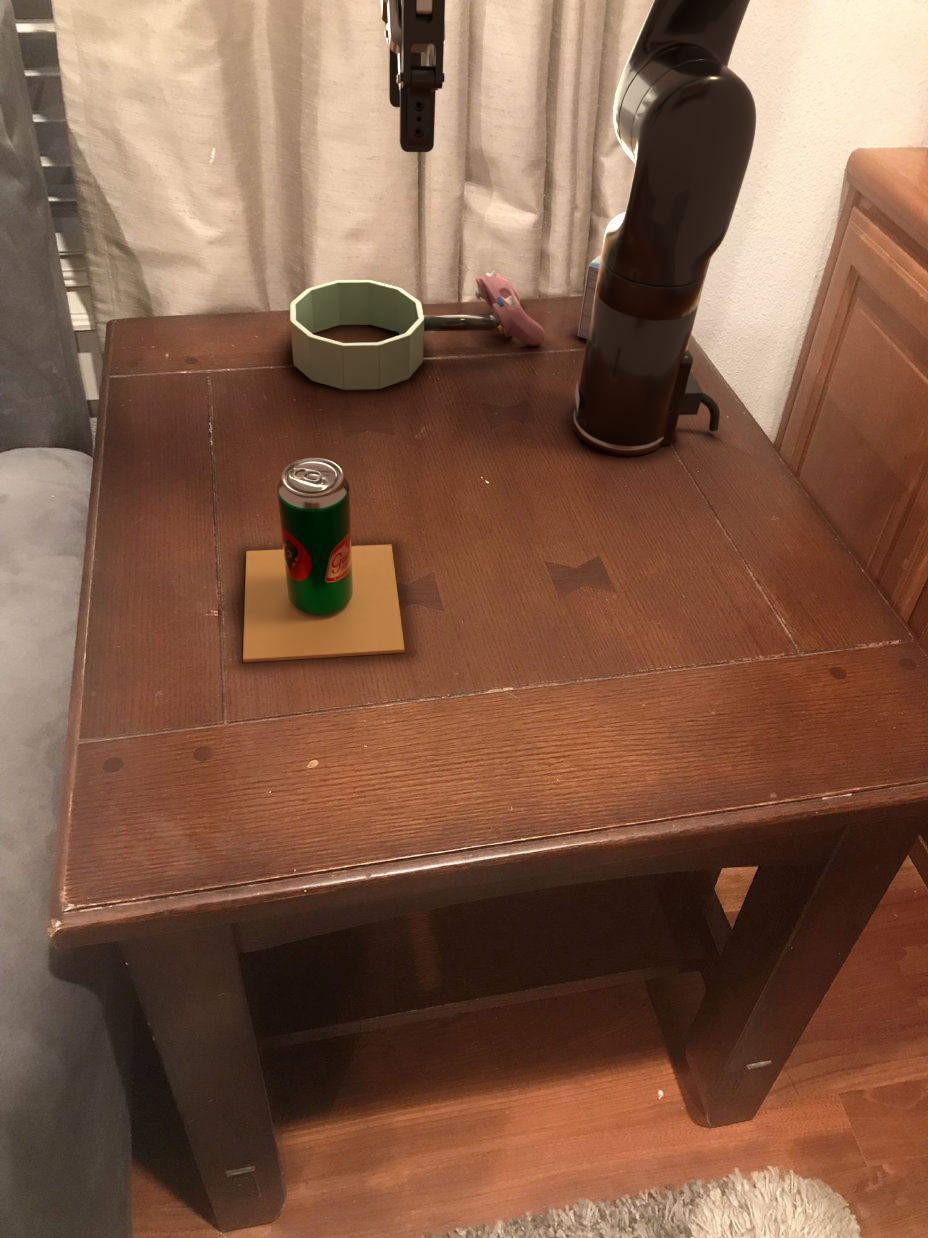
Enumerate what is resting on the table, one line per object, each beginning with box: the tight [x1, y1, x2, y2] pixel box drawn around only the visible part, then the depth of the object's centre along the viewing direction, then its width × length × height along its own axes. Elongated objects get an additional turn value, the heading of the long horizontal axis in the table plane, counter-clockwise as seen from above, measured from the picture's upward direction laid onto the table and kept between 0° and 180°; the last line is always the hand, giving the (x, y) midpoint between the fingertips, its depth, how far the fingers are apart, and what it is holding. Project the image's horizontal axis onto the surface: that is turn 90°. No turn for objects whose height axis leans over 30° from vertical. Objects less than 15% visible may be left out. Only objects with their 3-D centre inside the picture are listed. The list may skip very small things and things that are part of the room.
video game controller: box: [474, 269, 546, 347], centre depth 105 cm, size 10×5×7 cm, turn 17°
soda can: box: [276, 457, 353, 616], centre depth 71 cm, size 5×5×12 cm
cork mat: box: [242, 543, 405, 664], centre depth 75 cm, size 12×12×1 cm
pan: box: [289, 279, 498, 391], centre depth 100 cm, size 22×14×5 cm, turn 98°
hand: (410, 126), depth 66 cm, fingers open, 8 cm apart
